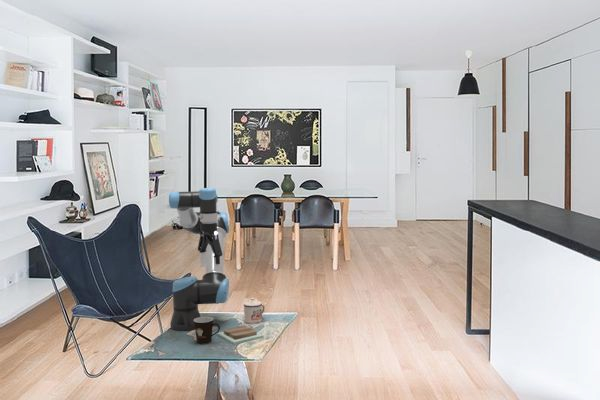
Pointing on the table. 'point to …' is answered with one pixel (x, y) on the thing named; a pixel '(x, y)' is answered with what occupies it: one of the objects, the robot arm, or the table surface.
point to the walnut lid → (240, 332)
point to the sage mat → (240, 339)
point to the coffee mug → (204, 329)
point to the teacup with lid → (253, 311)
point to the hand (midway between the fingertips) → (210, 268)
